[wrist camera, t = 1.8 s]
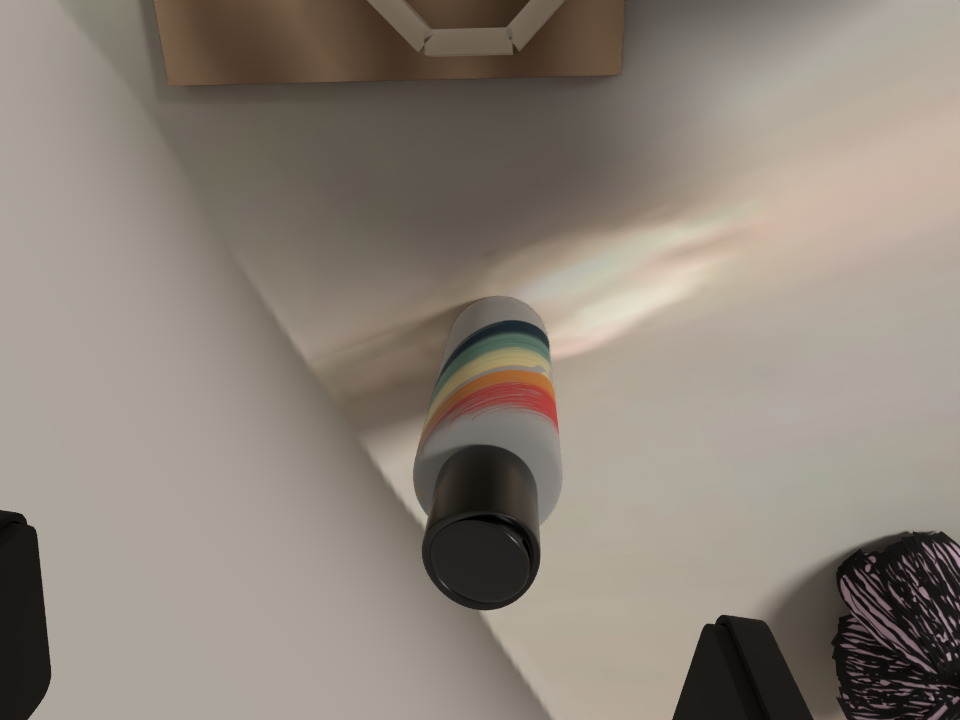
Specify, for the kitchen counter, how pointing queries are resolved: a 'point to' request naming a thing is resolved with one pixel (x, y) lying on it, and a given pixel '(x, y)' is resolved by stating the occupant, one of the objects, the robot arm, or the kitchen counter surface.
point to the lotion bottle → (489, 455)
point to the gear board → (386, 39)
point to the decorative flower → (901, 631)
